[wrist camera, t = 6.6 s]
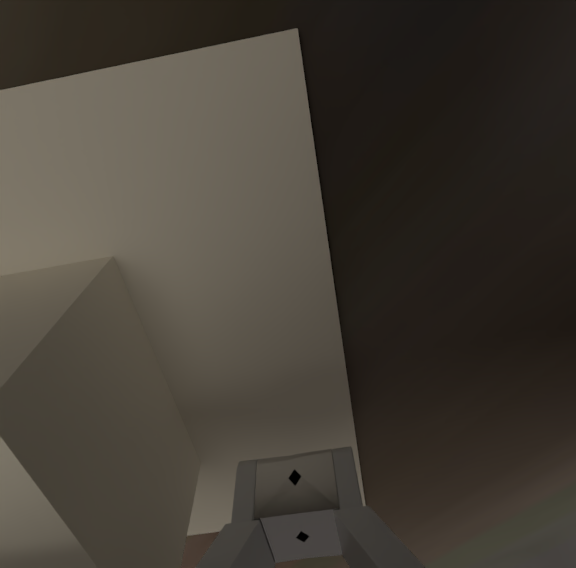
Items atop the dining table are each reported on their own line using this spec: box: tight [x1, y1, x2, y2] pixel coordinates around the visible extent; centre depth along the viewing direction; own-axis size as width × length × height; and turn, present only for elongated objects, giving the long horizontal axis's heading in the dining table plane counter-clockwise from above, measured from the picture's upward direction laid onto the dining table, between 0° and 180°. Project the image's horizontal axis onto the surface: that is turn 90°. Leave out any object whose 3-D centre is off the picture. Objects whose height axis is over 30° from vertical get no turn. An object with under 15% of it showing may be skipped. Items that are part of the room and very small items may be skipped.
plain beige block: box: [0, 256, 201, 568], centre depth 13 cm, size 6×10×6 cm, turn 10°
